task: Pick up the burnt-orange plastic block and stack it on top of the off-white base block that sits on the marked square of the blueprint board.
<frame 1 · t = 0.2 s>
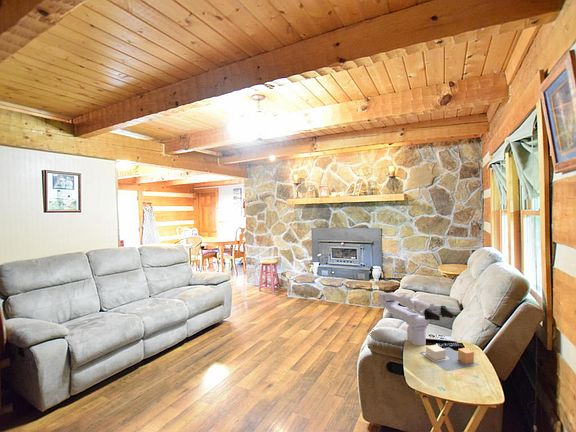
hand: (445, 317, 144), 21 cm above the table, tool horizontal, fingers open, 7 cm apart
orange block: (465, 360, 143), point 1 cm above the table, touching blueprint board
base block: (435, 356, 148), point 1 cm above the table, touching blueprint board
blueprint board: (448, 359, 146), on the table
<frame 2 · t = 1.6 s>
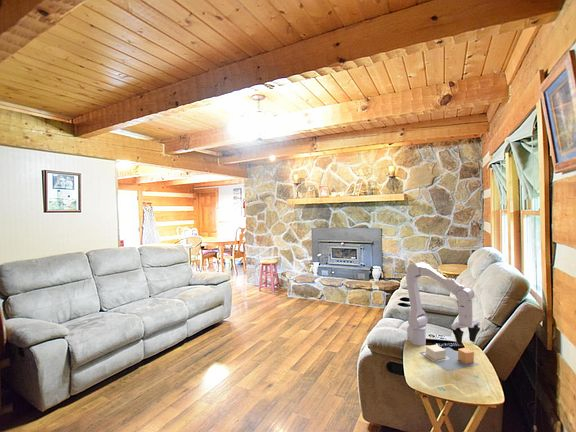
hand: (465, 342, 142), 9 cm above the table, tool pointing down, fingers open, 7 cm apart
nothing on the table moved.
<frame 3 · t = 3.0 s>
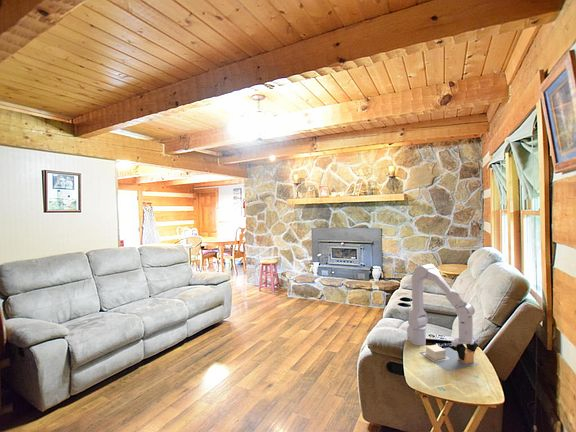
hand: (465, 358, 143), 2 cm above the table, tool pointing down, fingers closed on orange block, 4 cm apart
orange block: (465, 360, 143), point 1 cm above the table, touching blueprint board, gripper
everything else where it was.
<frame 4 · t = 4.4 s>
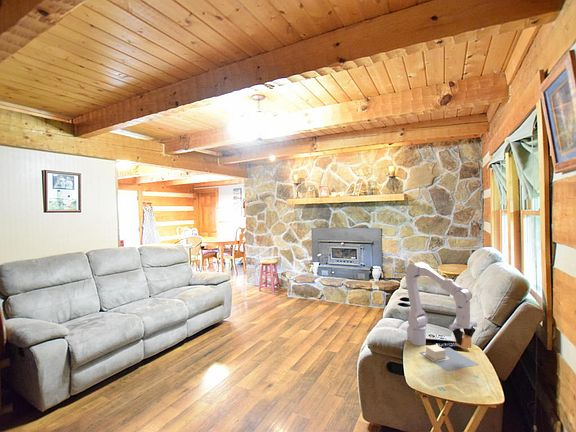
hand: (463, 343, 143), 9 cm above the table, tool pointing down, fingers closed on orange block, 4 cm apart
orange block: (463, 346, 143), point 8 cm above the table, touching gripper
everything else where it was.
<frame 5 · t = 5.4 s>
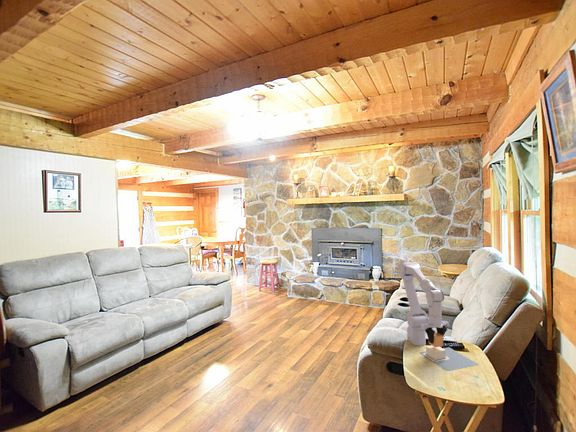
hand: (435, 341, 148), 8 cm above the table, tool pointing down, fingers closed on orange block, 4 cm apart
orange block: (435, 344, 148), point 6 cm above the table, touching gripper
everything else where it was.
when the fingers open (7 cm above the table, at t = 6.0 s): orange block stays where it is, resting on base block.
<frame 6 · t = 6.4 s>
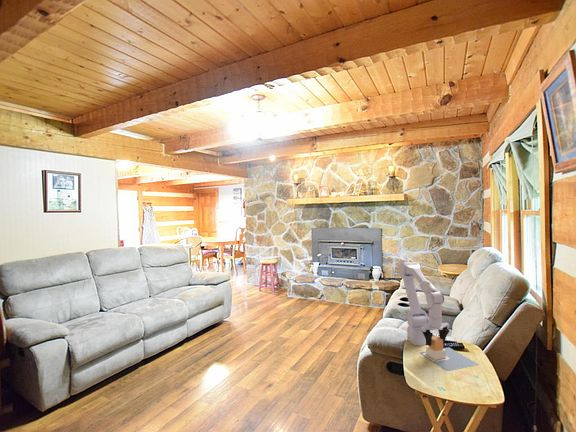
hand: (435, 343, 148), 7 cm above the table, tool pointing down, fingers open, 7 cm apart
orange block: (435, 348, 148), point 5 cm above the table, touching base block
base block: (435, 356, 148), point 1 cm above the table, touching blueprint board, orange block
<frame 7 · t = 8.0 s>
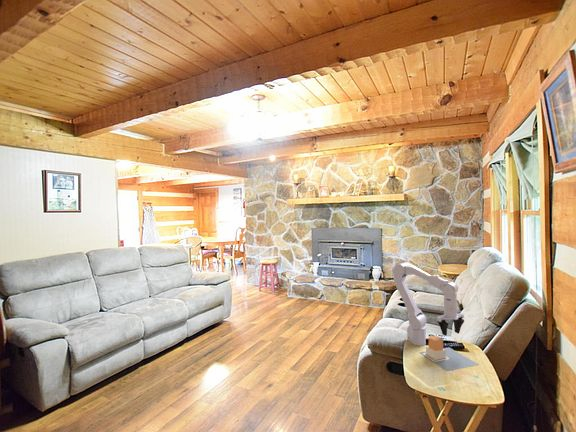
hand: (450, 333, 151), 10 cm above the table, tool pointing down, fingers open, 7 cm apart
nothing on the table moved.
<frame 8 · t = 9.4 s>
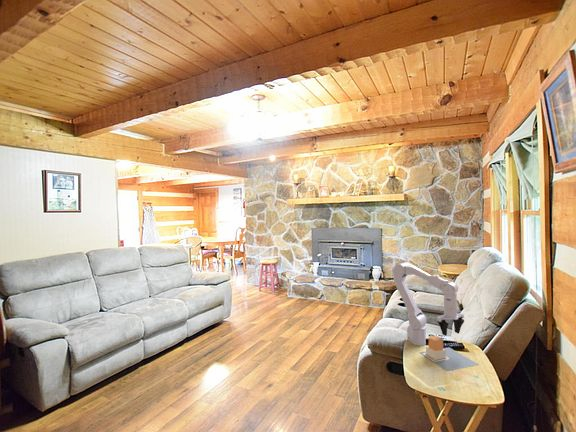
hand: (450, 333, 151), 10 cm above the table, tool pointing down, fingers open, 7 cm apart
nothing on the table moved.
at the end: orange block 0.1 cm off-centre on the base block, point 4.0 cm above the base block's base; orange block tilted 0°; the gripper is holding nothing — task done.
